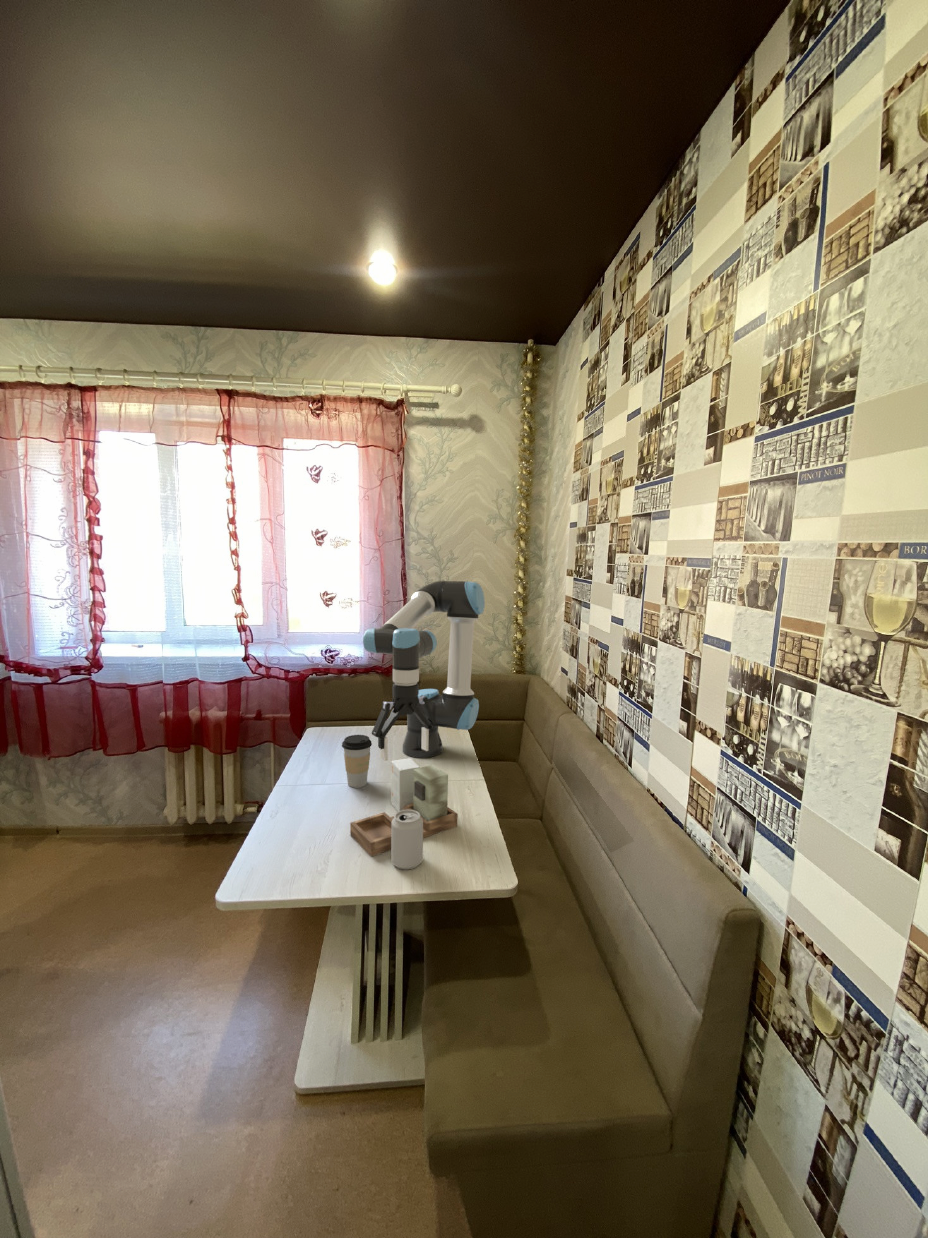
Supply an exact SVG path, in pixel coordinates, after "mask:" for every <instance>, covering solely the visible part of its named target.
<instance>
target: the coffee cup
mask: <svg viewBox="0 0 928 1238" xmlns="http://www.w3.org/2000/svg"><path fill="white" fill-rule="evenodd" d="M372 745H373V743H372V740H371V738H370V737H369V736H368V735H365V734H351V735H348V736H346V737H345V738H344V739H343V741H342V742H341V748H343V756H344V767H345V772H346V779H347V785H348V786H349V787H350V788H353V789H354V788H355V789H356V788H362V787H364V786H366V785H367V783H368V772H369V768H370V767H369V766H370V757H371V747H372Z"/></svg>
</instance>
